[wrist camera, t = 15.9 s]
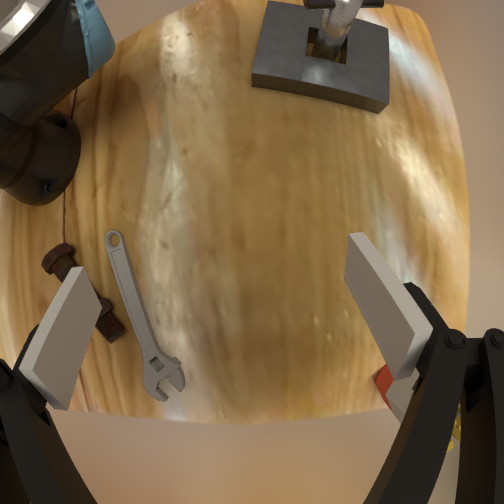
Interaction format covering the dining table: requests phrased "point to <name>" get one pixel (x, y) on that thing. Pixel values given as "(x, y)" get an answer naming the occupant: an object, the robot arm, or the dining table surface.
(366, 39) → the block
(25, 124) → the robot arm
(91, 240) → the dining table surface
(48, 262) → the bolt
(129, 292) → the adjustable wrench
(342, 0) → the chuck key
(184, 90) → the dining table surface
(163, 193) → the dining table surface
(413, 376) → the french fries container
